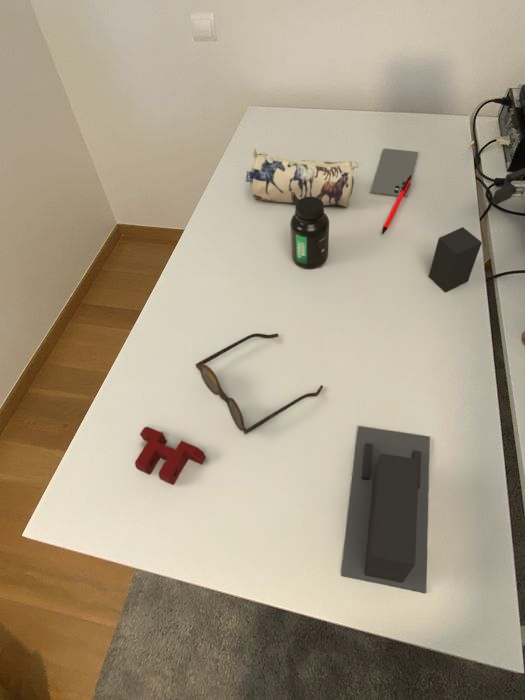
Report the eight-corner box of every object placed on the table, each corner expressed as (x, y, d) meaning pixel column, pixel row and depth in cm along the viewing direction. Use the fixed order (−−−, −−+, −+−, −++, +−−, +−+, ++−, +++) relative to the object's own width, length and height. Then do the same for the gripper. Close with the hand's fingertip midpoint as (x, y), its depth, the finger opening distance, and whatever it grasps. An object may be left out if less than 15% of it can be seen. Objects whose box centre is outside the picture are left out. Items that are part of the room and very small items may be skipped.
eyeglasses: (198, 375, 80) (192, 357, 76) (274, 331, 84) (272, 312, 80) (246, 443, 73) (243, 427, 69) (328, 391, 77) (329, 373, 73)
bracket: (202, 449, 69) (142, 424, 72) (181, 485, 67) (120, 458, 70) (205, 457, 72) (147, 433, 75) (186, 493, 69) (126, 466, 72)
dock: (429, 438, 71) (443, 404, 63) (425, 593, 59) (442, 575, 51) (357, 427, 73) (363, 393, 65) (340, 576, 61) (345, 555, 53)
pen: (412, 178, 105) (413, 173, 104) (384, 236, 96) (385, 232, 95) (408, 177, 105) (409, 172, 104) (379, 235, 96) (380, 230, 95)
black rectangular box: (468, 281, 87) (482, 242, 80) (445, 292, 86) (457, 254, 79) (450, 266, 90) (462, 226, 83) (428, 276, 89) (438, 237, 82)
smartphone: (418, 151, 110) (408, 195, 102) (417, 154, 111) (407, 197, 102) (383, 148, 112) (370, 190, 103) (383, 150, 113) (370, 192, 104)
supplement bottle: (303, 275, 92) (302, 223, 82) (285, 253, 95) (282, 201, 86) (335, 260, 93) (337, 208, 83) (315, 240, 97) (316, 187, 87)
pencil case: (247, 207, 104) (242, 166, 96) (257, 183, 109) (253, 141, 101) (352, 217, 100) (356, 174, 92) (358, 190, 105) (361, 148, 97)
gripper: (609, 218, 86) (537, 254, 82) (545, 177, 93) (476, 208, 90) (632, 181, 79) (555, 218, 76) (561, 140, 87) (488, 171, 84)
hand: (513, 212), depth 83 cm, fingers open, 8 cm apart
